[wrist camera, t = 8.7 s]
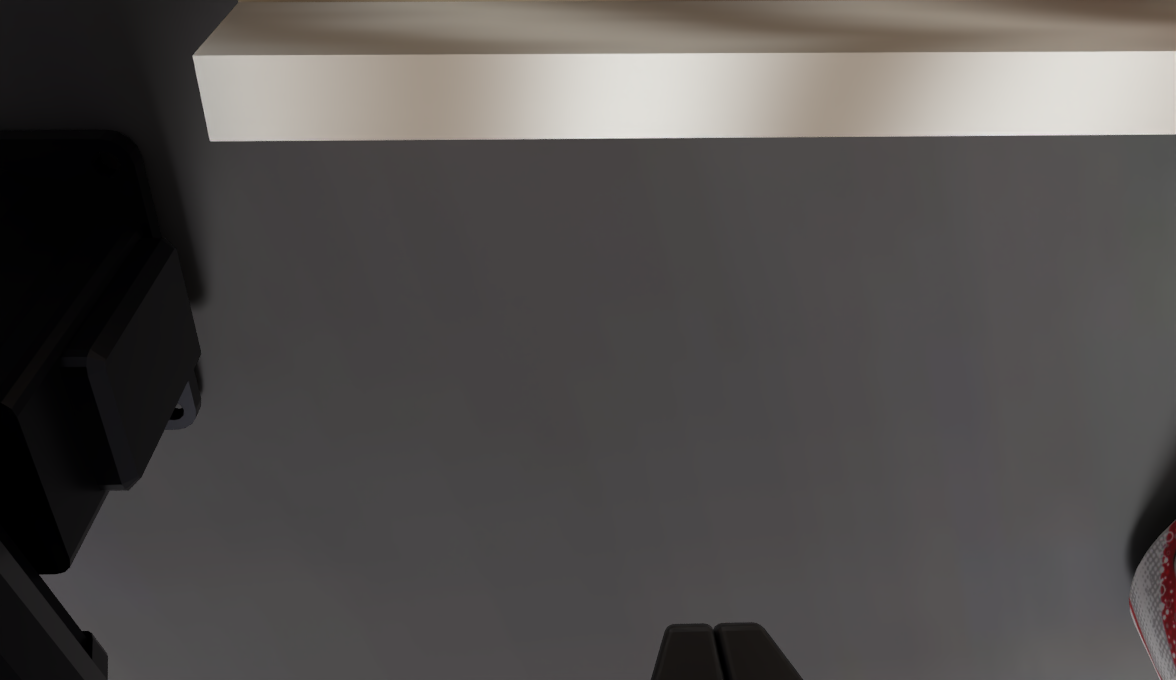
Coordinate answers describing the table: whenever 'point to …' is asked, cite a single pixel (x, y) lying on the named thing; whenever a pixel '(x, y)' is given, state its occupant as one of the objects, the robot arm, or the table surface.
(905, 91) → the lane board
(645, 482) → the table surface
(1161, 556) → the soda can
